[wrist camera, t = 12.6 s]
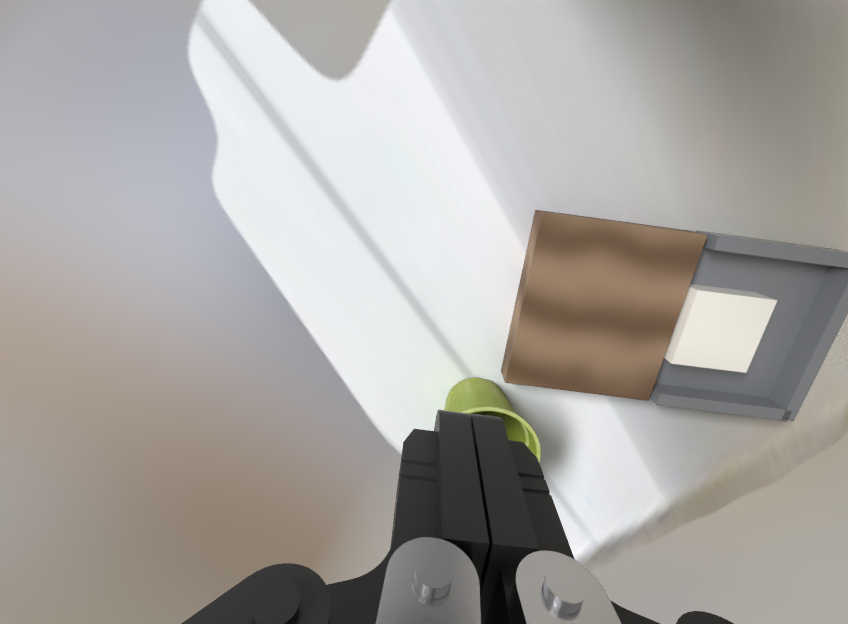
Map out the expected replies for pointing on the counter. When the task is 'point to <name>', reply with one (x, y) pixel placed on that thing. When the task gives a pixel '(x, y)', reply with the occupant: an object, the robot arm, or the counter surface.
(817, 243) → the counter surface
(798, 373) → the tray
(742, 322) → the tile
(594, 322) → the brown square board
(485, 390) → the plant pot
